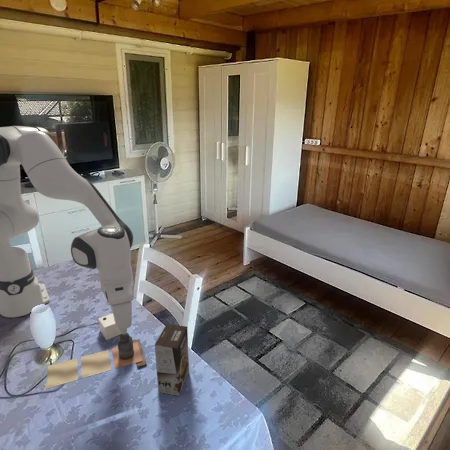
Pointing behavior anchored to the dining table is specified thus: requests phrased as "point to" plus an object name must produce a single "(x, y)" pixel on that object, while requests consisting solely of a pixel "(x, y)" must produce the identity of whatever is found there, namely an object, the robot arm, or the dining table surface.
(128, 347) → the pawn
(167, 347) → the coffee box
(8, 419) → the dining table surface
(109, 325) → the die
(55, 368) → the game board
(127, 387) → the dining table surface
